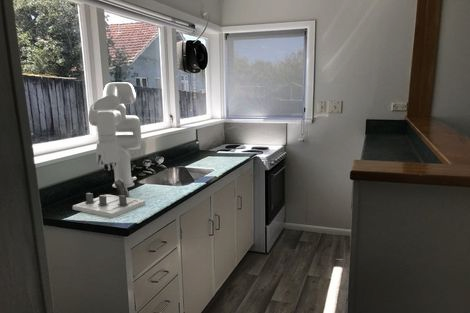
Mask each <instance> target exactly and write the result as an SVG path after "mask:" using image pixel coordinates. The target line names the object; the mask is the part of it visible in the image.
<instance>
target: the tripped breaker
mask: <svg viewBox="0 0 470 313" xmlns="http://www.w3.org/2000/svg"><path fill="white" fill-rule="evenodd" d="M118 196H119V203H120V204H118V205H120V206H126V205H129V204H128V203H127V202H126V197H127V196H124V195H118Z"/></svg>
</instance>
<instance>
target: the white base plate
mask: <svg viewBox="0 0 470 313" xmlns="http://www.w3.org/2000/svg"><path fill="white" fill-rule="evenodd" d="M104 195H105V196H106V202H107V203H109V204H108V205H105V206H101V205H98V204H99V196H98V197H96V198H94V197H93V201H95V202H94V203H91V204H90V203H85V201H82V202H80V203H77V204H74V205H72V210H74V211H78V212H82V213H88V214H92V215H97V216H98V215H99V216H102V217H108V218H115V217H117V216H120V215H123V214H126V213H128V212H130V211H132V210H134V209H137V208H139V207H143V206H145V205H146V200H143V199H138V198H133V197H132V198H130V197H128V196H126V202H127V203H128V204H129V205H126V206H120V205H118V204H120V203H119V196H120V195H113V194H104Z"/></svg>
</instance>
